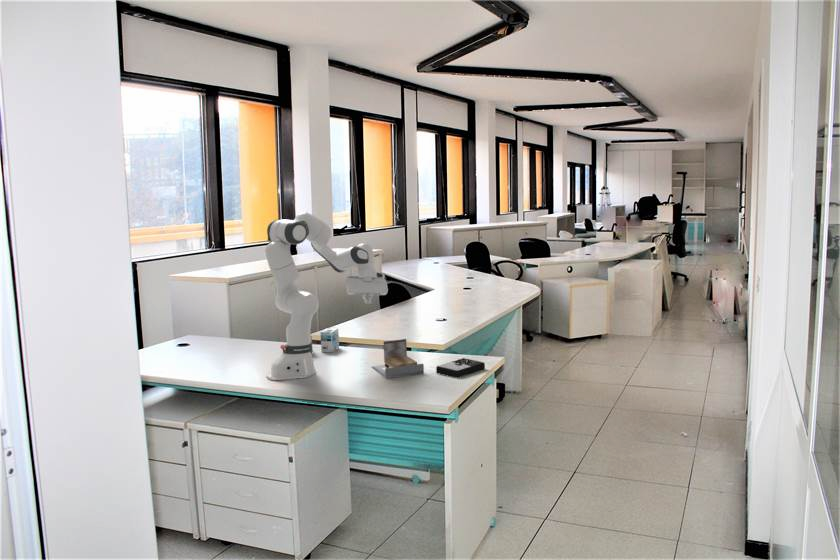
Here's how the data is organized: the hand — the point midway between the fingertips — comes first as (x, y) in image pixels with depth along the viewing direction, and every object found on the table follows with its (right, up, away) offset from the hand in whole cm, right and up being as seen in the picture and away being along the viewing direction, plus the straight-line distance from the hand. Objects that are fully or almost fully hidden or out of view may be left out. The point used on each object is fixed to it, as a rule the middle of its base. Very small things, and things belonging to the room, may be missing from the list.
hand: (368, 303), depth 334 cm
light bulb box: (-22, -26, +30) cm, 46 cm away
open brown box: (+16, -30, -18) cm, 39 cm away
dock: (+14, -32, -15) cm, 38 cm away
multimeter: (+44, -31, -20) cm, 57 cm away
